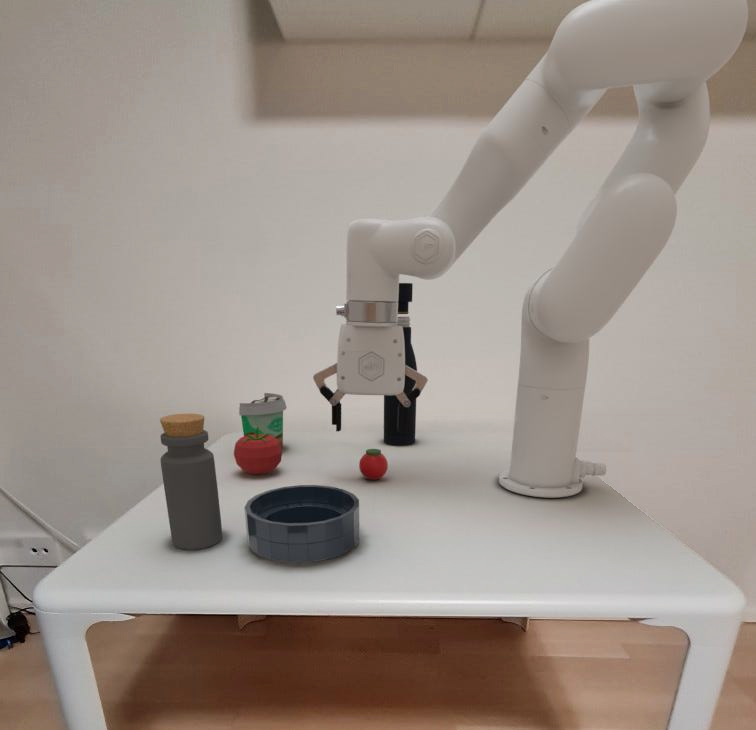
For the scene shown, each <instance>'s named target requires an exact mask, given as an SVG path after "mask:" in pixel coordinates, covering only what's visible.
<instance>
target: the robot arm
mask: <svg viewBox="0 0 756 730" xmlns="http://www.w3.org/2000/svg"><path fill="white" fill-rule="evenodd" d="M748 21H749V7H748V1H747V0H588V1H586V2H583V3H581V4H579V5H578V6H576V7H575V8H573V9H572V10H570V12H569V13H568V14H567V15H566V16H565V17H564V18H563V19H562V20H561V22H560V24H559V25H558V27H557V29H556V31H555V33H554V35H553V38H552V40H551V43H550V45H549V46H548V49H547V50H546V52H545V53H544V55H543V56H542V58H541V59H540V60H539V62H537V64H536V65H535V66H534V68H533V69H532V70H531V71H530V73H529V74H528V75H527V76H526V77H525V79H524V80H523V81H522V83H521V84H520V85H519V86H518V88H516V90H515V91H514V93H513V94H512V95H511V96H510V97H509V99H508V100H507V101H506V102H505V104H504V105H503V106H502V107H501V109H500V110H499V111H498V112H497V113H496V115H495V116H494V117H493V118H492V119H491V120H490V122H489V123H488V124H487V125H486V126H485V128H484V129H483V130H482V132H480V135H479V136H478V137H477V139H476V141H475V143H474V144H473V146H472V147H471V148H470V149H471V150H470V151H469V153H468V155H467V157H466V159H465V162H464V164H463V165H462V167H461V169H460V171H459V173H458V175H457V176H456V178H455V179H454V181H453V182H452V184H451V185H450V187H449V188H448V189H447V191H446V192H445V194H444V195H443V196H442V197H441V199H440V200H439V201H438V203H437V204H436V205H435V206H434V207H433V209H432V210H431V211H430V212H429V213H428V215H427V216H421V217H414V218H408V219H398V220H389V219H384V218H360V219H355V220H353V221H352V222H350V223H349V224H348V227H347V230H346V291H345V292H346V295H345V297H346V299H345V300H346V301H345V303H344V304H341V305H336V308H335V309H336V310H335V311H336V314H335V315H336V316H341V317H343V318H344V319H345V320H346V321H345V323H341V324H340V327H339V328H340V329H339V335H338V342H337V356H336V359H337V361H336V362H335V363H334V364H331V365H329V366H327V367H325V368H323V369H322V370H319V371H318V372H316V373H315V374H313V376H312V379H313V382H314V383H315V385H316V387H317V389H318V391H319V392H320V394H321V395H322V397H323V398H324V399H326V401H327V402H329V404H330V405H331V425H332V426H335V431H336V432H341V431H342V403H341V400H342V399H343V398H344V396H345V395H354V396H356V395H357V396H384V395H396V397H397V398H398V399H399V401H400V403H399V405H398V414H397V430H398V432H399V433H403V426H407V418H408V407H409V406H410V404H411V403H412V402H413V401H414V400H415V399H416V400H417V399H418V398H419V397H420V396H421V393H422V391H423V390H424V388H425V386H426V385H427V383H428V380H429V379H428V378H427V376H426V375H423V374H422V373H421V372H419V371H418V370H417V371H415V370H413V369H412V368H410V367H408V366H406V365H405V344H404V333H403V327H402V326H400V325H397V320H398V317H399V314H398V294H399V283H400V275H404V276H410V277H415V278H418V279H420V280H426V281H431V280H437V279H438V278H440V277H442V276H443V275H444V274H446V273H447V272H448V271H449V270H450V269H451V268H452V266H453V265H454V264H455V263H456V262H457V260H458V259H459V258H460V257H461V256H462V255H463V253H465V251H466V250H467V249H468V248H469V247H470V245H471V244H472V243H473V242H474V241H475V240H476V239H477V238H478V236H479V235H481V233H482V232H483V231H484V229H485V228H486V227H488V225H489V224H490V223H491V221H492V220H493V219H494V218H495V217H496V216H497V215H498V214H499V213H500V212H501V211H502V210H503V209H504V208H505V207H506V206H507V205H508V204H509V203H510V202H511V201H513V200H514V199H515V198H516V196H517V195H518V194H519V193H520V191H522V189H524V187H525V186H526V185H527V184H528V182H530V180H531V179H532V178H533V177H534V176H535V175H536V174H537V172H538V171H539V170H540V169H541V168H542V166H543V165H544V164H545V163H546V162H547V161H548V160H549V158H550V157H551V156H552V155H553V154H554V153H555V152H556V151H557V149H558V148H559V147H560V146H561V145H562V144H563V142H564V141H565V140H566V139H567V138H568V137H569V135H570V134H571V133H572V132H573V131H574V130H575V129H576V128H577V127H578V125H580V123H581V122H582V121H583V120H584V119H585V118H586V116H587V115H588V114H589V113H590V111H592V109H593V108H594V107H595V106H596V104H597V103H598V102H599V101H600V100H601V98H602V97H603V96H604V95H605V93H606V91H607V90H609V89H616V88H617V89H618V88H626V87H632V88H633V94H634V97H635V100H636V101H635V102H636V104H637V109H638V118H637V119H638V121H637V125H636V129H635V131H634V133H633V135H632V138H631V139H630V140H629V142H628V144H627V145H626V147H625V148H624V150H623V152H622V154H621V156H620V157H619V159H618V160H617V161H616V163H615V165H614V166H613V167H612V169H611V170H610V172H609V174H608V175H606V178H605V179H604V181H603V182H602V184H601V185H600V187H599V188H598V189H597V191H596V192H595V194H594V195H593V196H592V198H591V199H590V200H589V201H588V202H587V204H586V205H585V206H584V208H583V209H582V211H581V213H580V215H579V217H578V220H577V223H576V226H575V231H574V237H573V238H572V240H571V241H570V243H569V245H568V246H567V247H566V249H565V250H564V252H563V254H562V255H561V256H560V257H559V259H558V261H557V262H556V263H555V265H554V266H552V267H550V268H547V269H546V270H544V271H543V272H540V274H538V275H537V276H536V277H535V278H534V280H533V281H532V282H531V283H530V285H529V287H528V288H527V290H526V293H525V295H524V298H523V302H522V306H521V307H522V309H521V321H520V322H521V326H520V328H521V330H520V354H519V368H518V377H517V378H518V379H517V386H516V387H517V389H516V399H515V408H514V409H515V410H514V419H513V431H512V440H511V441H512V442H511V453H510V462H509V463H510V465H509V468H507V469H504V470H502V471H501V472H500V473H499V476H498V483H499V485H500V486H502V488H504V489H506V490H508V491H510V492H513V493H516V494H519V495H523V496H528V497H535V498H548V499H549V498H552V499H554V498H567V497H571V496H574V495H577V494H579V493H580V492H581V491H582V490H583V485H584V482H583V478H585V477H586V476H594V477H596V476H597V477H598V476H600V477H601V476H603V477H604V476H606V473H607V465H606V463H605V462H593V463H592V461H591V460H581V459H579V458H577V451H578V450H577V449H578V442H579V435H580V428H581V421H582V413H583V406H584V397H585V391H586V386H587V379H588V378H587V377H588V370H589V359H590V338H592V337H594V336H595V335H597V334H598V333H600V331H602V329H604V328H605V326H606V325H607V324H608V323H609V322H610V321H611V320H612V319H613V318H614V316H615V315H616V313H617V312H618V311H619V309H620V308H621V307H622V306H623V304H624V303H625V301H626V300H627V299H628V297H629V296H630V295H631V293H632V292H633V291H634V289H635V288H636V286H638V285H639V283H640V281H641V280H642V279H643V277H645V274H646V273H647V272H648V271H649V269H650V268H651V266H652V265H653V264H654V262H655V261H656V260H657V258H658V257H659V255H660V254H661V252H662V251H663V250H664V248H665V246H666V244H667V243H668V241H669V240H670V237H671V235H672V233H673V230H674V229H675V224H676V221H677V216H678V215H677V214H678V204H677V200H676V194H677V193H678V191H679V190H680V189H681V187H682V185H683V184H684V182H685V181H686V179H687V177H688V176H689V174H690V173H691V172H692V170H693V168H694V167H695V165H696V163H697V162H698V160H699V158H700V156H701V154H702V152H703V150H704V148H705V146H706V142H707V140H708V136H709V131H710V123H711V107H710V96H709V89H708V87H707V82H706V81H708V80H709V79H710V78H712V77H713V76H714V75H715V74H717V72H719V71H720V70H721V69H722V68H723V67H724V66H725V65H726V64H727V63H728V62H729V61H730V59H731V58H732V57H733V55H734V54H735V53H736V51H737V50H738V48H739V46H740V45H741V43H742V41H743V38H744V36H745V33H746V31H747V26H748ZM335 374H336V387H337V389H336V390H335V391H332V390H331V388H330V387H329V386H328V385H327V384H326V381H325V379H328V378H330V377H331V376H333V375H335ZM405 375H406V376H408V377H410V378H412V379H414V380H415V381H416V384H415V386H414V388H413V389H412V390H411V391H410V392H409V393H407V394H405V393H404V392H403V390H404V383H405Z"/></svg>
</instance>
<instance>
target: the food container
mask: <svg viewBox="0 0 756 730" xmlns="http://www.w3.org/2000/svg"><path fill="white" fill-rule="evenodd" d="M263 396H264V397H263V398H261V399H254V400H252V401H251V402H242V403H241V402H240V403H239V407H238V416H240V419H241V425H242V432H243V436H245V435H248V434H249V435H254V434H256V430H257V427H258V428H259V429H258V434H267V433H268V434H272V435H271V436H273V437H275V438H276V439H277V440H278V441H279V443H280V446H281V449H282V451H283V450H284V411H285V410H287V404H286V401H285V398H284V396H283V395H282V394H279V393H278V394H277V393H270V392H264V393H263Z"/></svg>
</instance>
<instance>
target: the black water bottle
mask: <svg viewBox="0 0 756 730" xmlns="http://www.w3.org/2000/svg"><path fill="white" fill-rule="evenodd" d="M413 287H414V286H413V283H412V282H399V294H398V315H408V314H409V313H410V312H409V303H412V302H413ZM410 321H411V319H410V316H398V320H397V325H400V326H402V327H403V333H404V344H405V365H406V366H408V367H410V368H412V369H413V370H415V371H417V372H418V365H417V360H416V355H415V351H414V347H413V344H412V327H411V326H410V325H411V323H410ZM415 384H416V381H415V380H414V379H412V378H410V377H408V376H406V375H405V383H404V390H403V392H404V393H405V394H407V393H409V392H410V391H411V390H412V389H413V388H414V386H415ZM399 403H400V401H399V399H398V398H397V397H396V395H383V442H384V444H386V445H389V446H396V447H401V446H402V447H404V446H410V445H413V444H415V443H416V427H417V426H416V425H417V398H416V399H415V400H414V401H413V402H412V403H411V404H410V406H409V407H408V418H407V426H403V433H399V432H398V430H397V414H398V405H399Z"/></svg>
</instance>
